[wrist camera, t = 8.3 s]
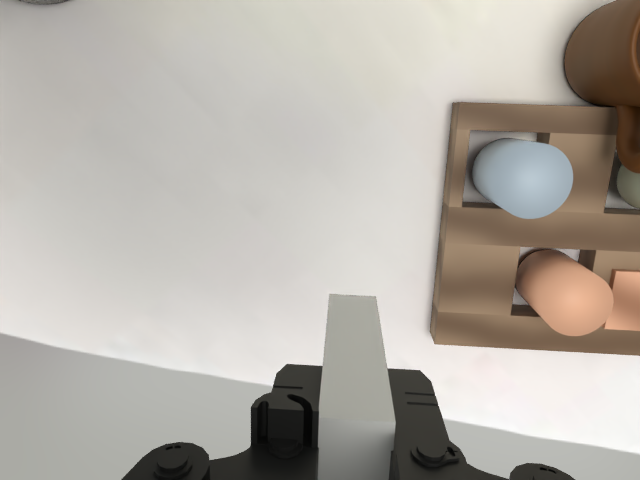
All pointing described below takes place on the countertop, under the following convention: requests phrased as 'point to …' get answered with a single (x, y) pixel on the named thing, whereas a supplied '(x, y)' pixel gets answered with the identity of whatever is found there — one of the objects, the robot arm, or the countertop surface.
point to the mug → (610, 70)
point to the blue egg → (523, 177)
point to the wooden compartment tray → (534, 236)
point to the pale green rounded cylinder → (629, 186)
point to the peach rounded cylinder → (564, 292)
